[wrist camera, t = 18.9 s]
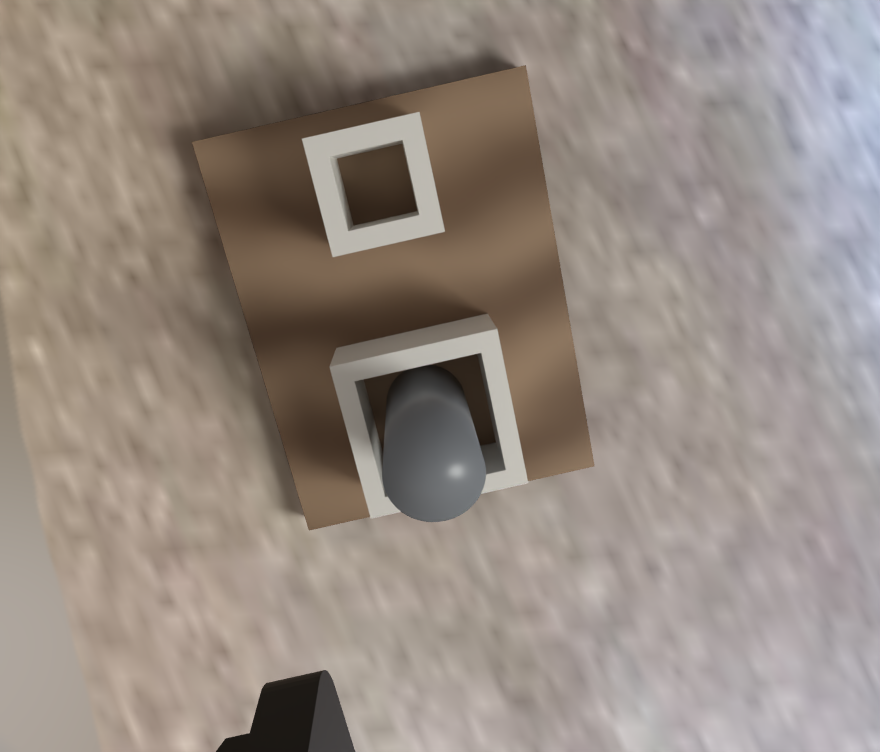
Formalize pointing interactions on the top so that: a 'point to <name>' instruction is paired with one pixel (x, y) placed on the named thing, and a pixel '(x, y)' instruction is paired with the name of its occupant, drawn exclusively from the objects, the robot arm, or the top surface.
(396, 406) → the capsule
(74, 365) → the top surface
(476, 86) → the board
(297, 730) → the robot arm
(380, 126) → the socket fittings
